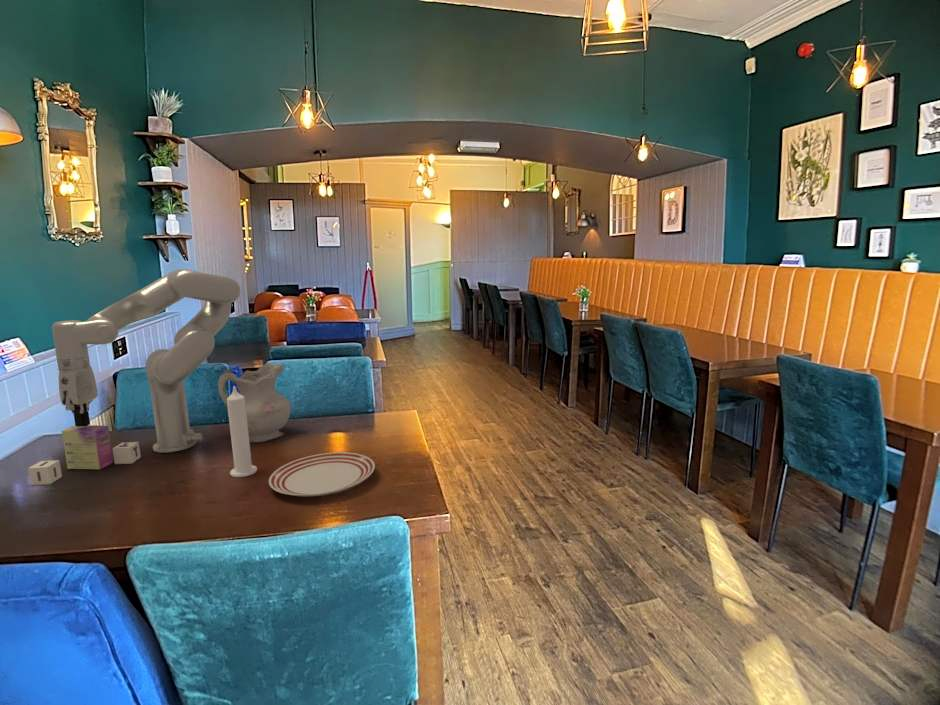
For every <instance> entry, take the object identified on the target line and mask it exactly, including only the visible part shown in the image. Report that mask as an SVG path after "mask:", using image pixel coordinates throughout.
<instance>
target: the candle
mask: <svg viewBox="0 0 940 705" xmlns="http://www.w3.org/2000/svg"><path fill="white" fill-rule="evenodd" d="M227 406H228V407H227ZM227 406H226V407H227V416H228V415H229V416H228V423H229V432H230V439H231V447H232V448H231V450H232V457H233V458H232V459H233V464H234V465H233V468H232V469H231V470H230V471H229V474H230V476H231V477H233V478H243V477H249V476H251V475H254V474H256V473H257V471H258V467H257V466H256V465H253V464H252V455H251V446H250V442H249V435H248V426H247V416H246V407H245V398H244V396H242V395H241V394H239V391H238V390H237V386H235V385H233V387H232V392H231V394H230V395H229V396H228V398H227Z"/></svg>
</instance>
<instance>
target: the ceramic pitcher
mask: <svg viewBox="0 0 940 705" xmlns="http://www.w3.org/2000/svg"><path fill="white" fill-rule="evenodd" d="M284 370H285V368H284V365H282V364H279V363H277V364H273V363H269V362H267V363H265V364H262V365H261V366H260V367H259V368H258V369H257V370H252V371H251V370H245V371H244V372H243V373H242V375H241V376H240V377H237V376H236V375H235V373H234V372H233V369H231V368H229V369H225V370H223V371H221V374H220V376H219V378H218V381H217V389H218V394H219V396H220V398H221V400H222V402H223V404H224V405H225V406H226V407H227V408H228V406H227V398H228V397H229V396H228V393H227V392H226V383H227V381H231V382H233V383H234V384H236V385H237V386H236V387H237V389H238V393H239V394H241V395H242V396H244V398H245V407H246V416H247V426H248V435H249V443H264V442H267V441H270V440H274V439H277V438H280V437H282V436H283V435H285V433H284V432H282V431H279V430H280V429H283V427H284V426H285V425H286V424H287V422H288V420H289V418H290V416H291V403H290V400H288V398H286V397H285V396H284V395H283V394H281V393H279V392H278V391H277V389H276V381H277V378H278V376H279V375H281V373H283V372H284ZM227 416H228V417H229V415H228V414H227Z"/></svg>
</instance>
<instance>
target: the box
mask: <svg viewBox="0 0 940 705" xmlns="http://www.w3.org/2000/svg"><path fill="white" fill-rule="evenodd" d="M61 436H62V442H63V449H64V454H65V462H66V468H67V470H102V469H104V468H106V467H108V466H110V465H112V464H113V463H114V456H113V450H112V442H111V435H110V427H109V425H95V424H94V425H92V424H90V425H87V426H82V427H76V426H75V425H72V426H70V427H68V428H65V429H63V430H61Z"/></svg>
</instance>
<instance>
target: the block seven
mask: <svg viewBox="0 0 940 705" xmlns="http://www.w3.org/2000/svg"><path fill="white" fill-rule="evenodd" d="M139 443H140V442H139V441H133V442H132V441H129V442H120V443H119V444H118V445H116V446H114V447H111V449H112V456H113V463H114V465H122V464H124V465H127V464H134V463H135V462H136V461H137V460H139V459H141V457H142V456H141V449H140V444H139Z"/></svg>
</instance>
